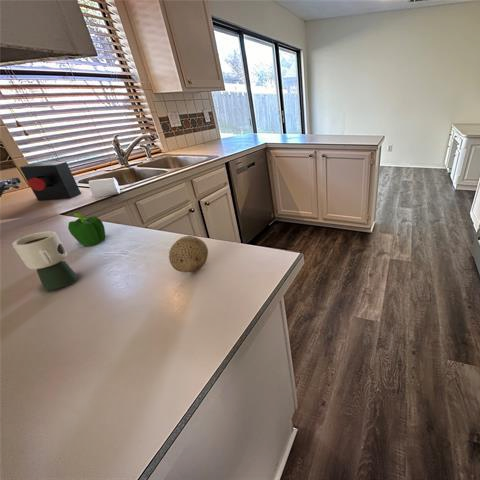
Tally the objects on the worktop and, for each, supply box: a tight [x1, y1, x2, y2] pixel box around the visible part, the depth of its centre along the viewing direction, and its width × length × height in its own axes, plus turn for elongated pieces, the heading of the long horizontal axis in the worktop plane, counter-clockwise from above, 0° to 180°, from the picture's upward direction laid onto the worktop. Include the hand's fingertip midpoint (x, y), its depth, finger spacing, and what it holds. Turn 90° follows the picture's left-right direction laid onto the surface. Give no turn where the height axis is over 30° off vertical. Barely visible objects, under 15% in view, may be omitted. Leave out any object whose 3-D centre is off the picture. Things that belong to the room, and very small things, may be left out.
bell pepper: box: [67, 212, 106, 247], centre depth 82 cm, size 8×8×10 cm
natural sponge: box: [168, 235, 209, 274], centre depth 66 cm, size 9×9×10 cm
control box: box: [19, 161, 82, 202], centre depth 126 cm, size 8×14×16 cm, turn 101°
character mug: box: [12, 230, 78, 291], centre depth 62 cm, size 11×7×13 cm, turn 51°
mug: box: [88, 177, 121, 198], centre depth 130 cm, size 12×10×8 cm
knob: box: [27, 177, 51, 191], centre depth 120 cm, size 6×6×6 cm
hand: (17, 180), depth 109 cm, fingers closed
